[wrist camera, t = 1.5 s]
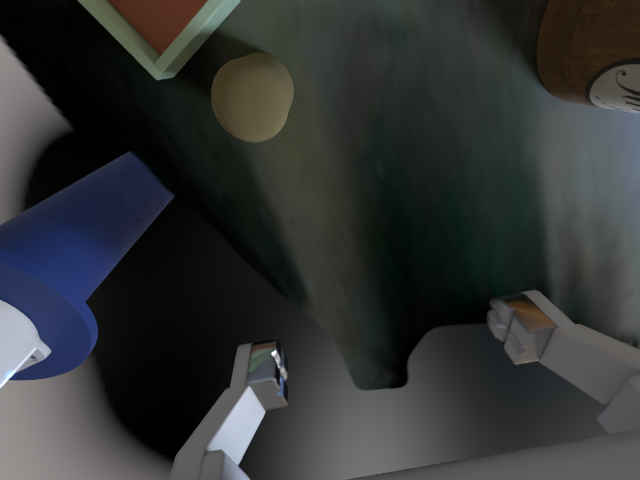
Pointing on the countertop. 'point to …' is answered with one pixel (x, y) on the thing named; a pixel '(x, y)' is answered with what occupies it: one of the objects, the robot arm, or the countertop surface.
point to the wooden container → (592, 52)
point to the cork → (252, 96)
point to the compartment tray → (161, 28)
